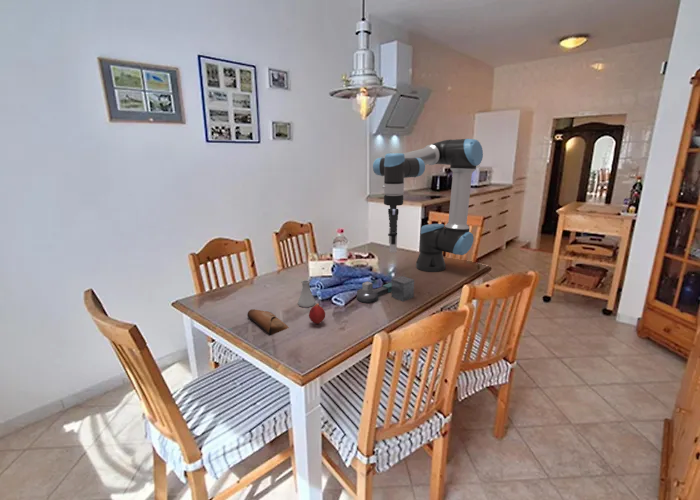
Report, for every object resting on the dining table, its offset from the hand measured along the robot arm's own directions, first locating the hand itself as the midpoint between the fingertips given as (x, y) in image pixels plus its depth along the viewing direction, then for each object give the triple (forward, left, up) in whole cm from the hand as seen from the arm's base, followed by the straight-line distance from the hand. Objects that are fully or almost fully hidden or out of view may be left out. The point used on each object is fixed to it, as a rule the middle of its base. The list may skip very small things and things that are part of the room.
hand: (392, 247), depth 144 cm
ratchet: (0, -7, -23) cm, 24 cm away
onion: (+36, -3, -23) cm, 43 cm away
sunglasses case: (+49, -17, -23) cm, 57 cm away
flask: (+29, -20, -23) cm, 42 cm away
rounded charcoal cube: (-5, +2, -23) cm, 23 cm away
